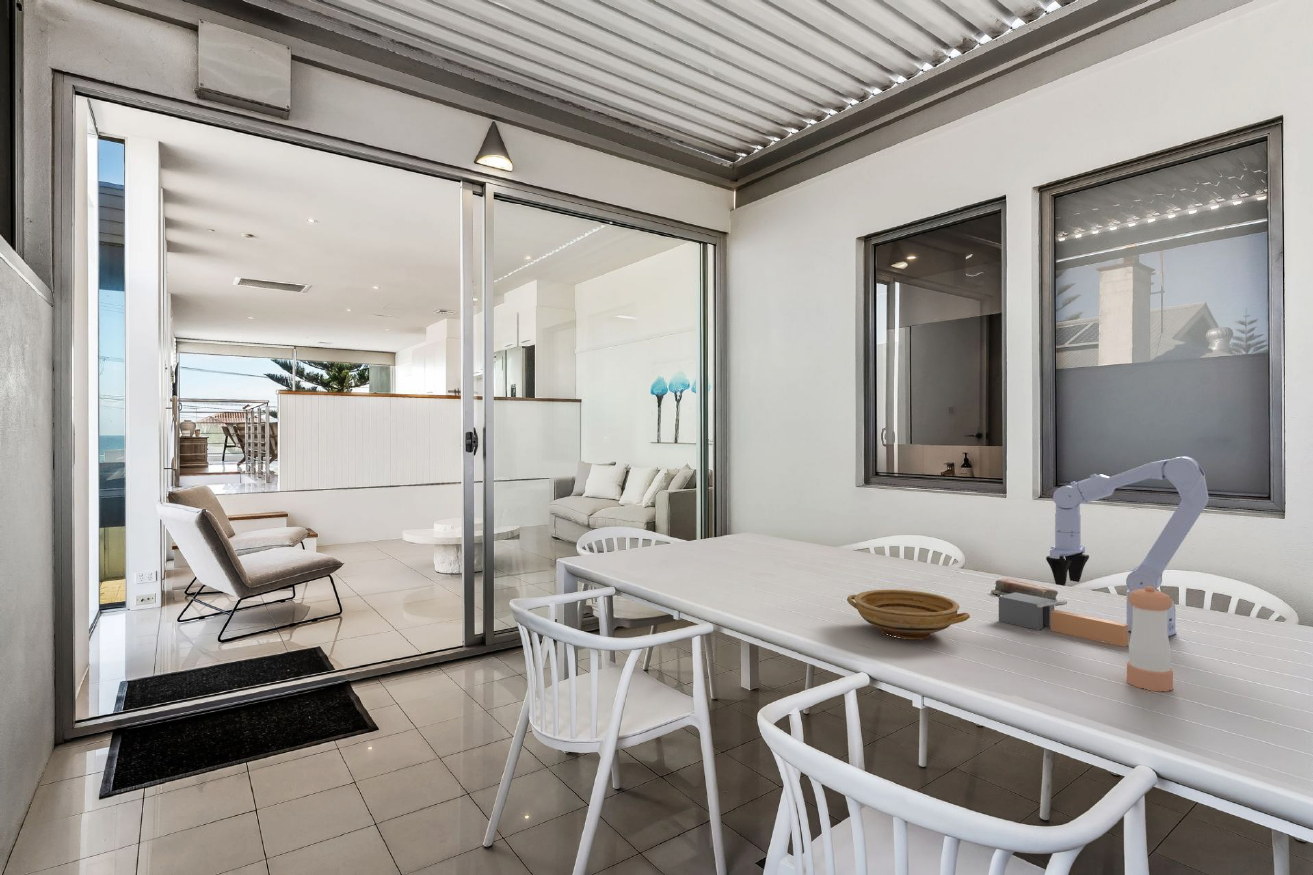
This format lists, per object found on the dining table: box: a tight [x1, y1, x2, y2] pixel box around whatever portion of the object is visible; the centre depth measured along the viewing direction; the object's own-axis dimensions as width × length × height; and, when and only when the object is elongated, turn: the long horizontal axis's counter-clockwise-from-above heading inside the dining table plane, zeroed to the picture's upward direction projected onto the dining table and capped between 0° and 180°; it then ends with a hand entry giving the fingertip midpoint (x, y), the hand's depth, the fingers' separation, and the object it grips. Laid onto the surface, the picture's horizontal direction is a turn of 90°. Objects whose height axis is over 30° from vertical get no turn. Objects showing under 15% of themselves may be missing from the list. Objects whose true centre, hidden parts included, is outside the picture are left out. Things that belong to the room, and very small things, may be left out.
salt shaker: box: [1126, 586, 1174, 692], centre depth 132 cm, size 7×7×19 cm
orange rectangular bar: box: [1050, 609, 1129, 648], centre depth 163 cm, size 16×2×5 cm, turn 35°
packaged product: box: [990, 578, 1068, 606], centre depth 200 cm, size 18×5×10 cm
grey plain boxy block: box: [998, 592, 1058, 631], centre depth 174 cm, size 11×8×6 cm
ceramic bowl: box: [846, 589, 971, 640], centre depth 167 cm, size 30×24×8 cm
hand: (1067, 583), depth 179 cm, fingers open, 7 cm apart
